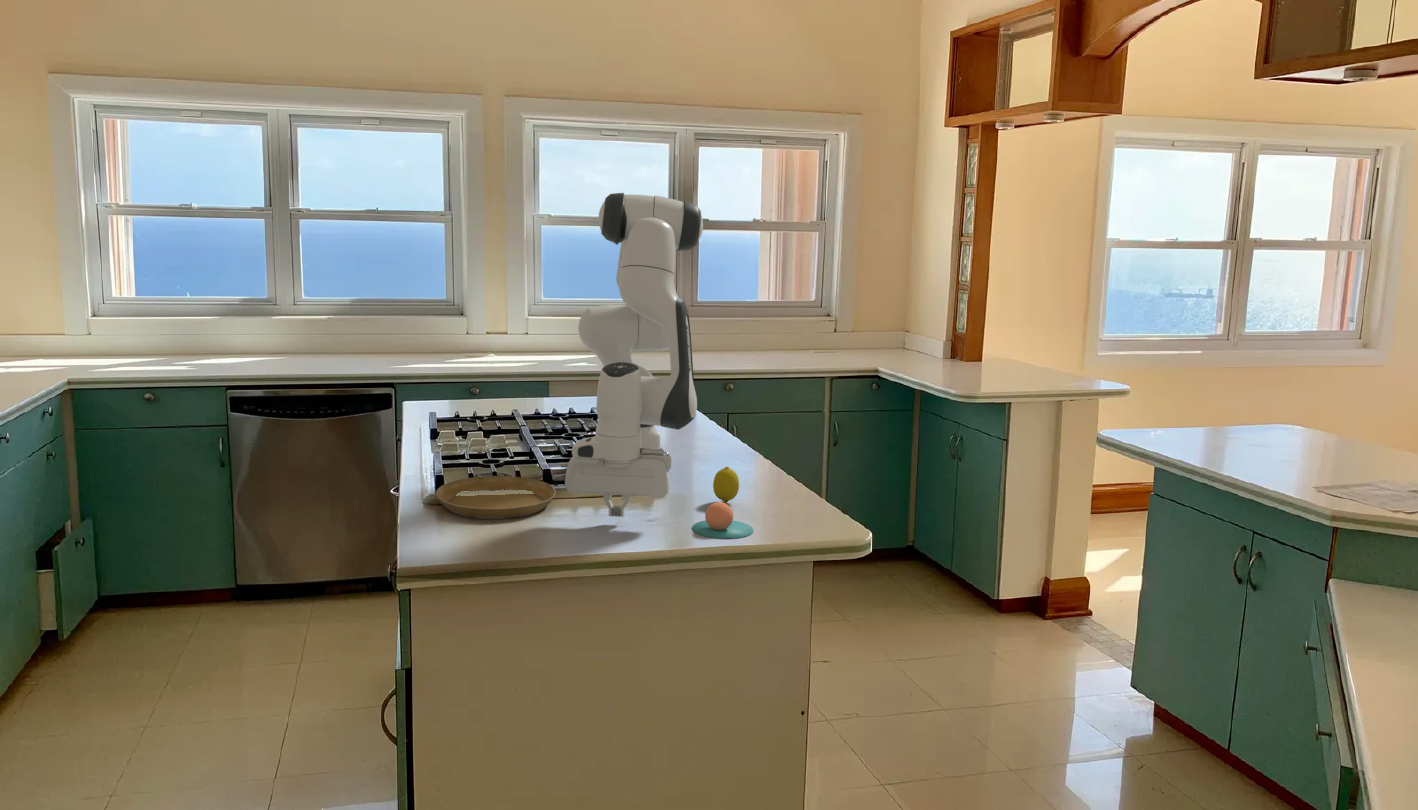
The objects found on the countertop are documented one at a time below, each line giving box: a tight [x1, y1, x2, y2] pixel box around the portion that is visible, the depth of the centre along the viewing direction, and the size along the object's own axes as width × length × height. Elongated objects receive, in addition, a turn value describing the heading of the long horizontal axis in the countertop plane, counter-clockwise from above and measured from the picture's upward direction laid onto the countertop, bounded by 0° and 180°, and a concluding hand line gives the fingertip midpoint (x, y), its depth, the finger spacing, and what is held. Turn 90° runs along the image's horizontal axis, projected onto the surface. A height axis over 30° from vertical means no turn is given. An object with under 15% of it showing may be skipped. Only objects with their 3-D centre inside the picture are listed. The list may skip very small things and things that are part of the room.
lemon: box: [712, 466, 740, 504], centre depth 219 cm, size 6×6×8 cm
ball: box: [704, 501, 734, 530], centre depth 200 cm, size 6×6×6 cm
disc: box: [692, 519, 754, 539], centre depth 201 cm, size 12×12×1 cm
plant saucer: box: [435, 475, 557, 520], centre depth 211 cm, size 24×24×3 cm
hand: (616, 515), depth 201 cm, fingers closed
